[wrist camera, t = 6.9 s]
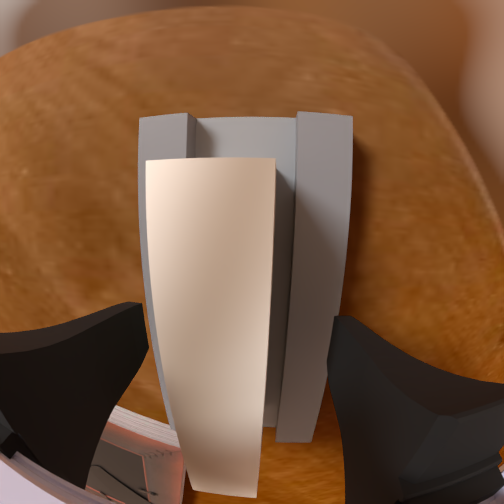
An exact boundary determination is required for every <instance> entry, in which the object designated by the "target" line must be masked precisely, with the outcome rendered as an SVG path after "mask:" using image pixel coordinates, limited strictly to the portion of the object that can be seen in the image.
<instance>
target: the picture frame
mask: <svg viewBox="0 0 504 504" xmlns="http://www.w3.org/2000/svg"><path fill="white" fill-rule="evenodd" d="M185 474H186V466H185V463H184V459H183V455H182V452H181V448H180V445H179V441H178V437H177V433H176V431H175V430H171V428H170V425H167V424H164V423H161V422H158V421H155V420H152V419H150V418H147V417H144V416H141V415H139V414H136V413H134V412H131V411H129V410H126V409H124V408H121V407H119V406H115V407H114V409H113V411H112V413H111V415H110V417H109V419H108V421H107V423H106V426H105V428H104V430H103V433H102V435H101V438H100V440H99V443H98V445H97V448H96V451H95V454H94V457H93V460H92V463H91V467H90V470H89V474H88V478H87V483H86V487H85V491H87V492H90V493H92V494H94V495H96V496H99V497H101V498H103V499H106V500H108V501H111V502H113V503H116V504H182V498H183V490H184V482H185Z"/></svg>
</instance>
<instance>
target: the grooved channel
mask: <svg viewBox="0 0 504 504" xmlns="http://www.w3.org/2000/svg"><path fill="white" fill-rule="evenodd" d="M352 156H353V116H345V115H336V114H326V113H314V112H299V111H298V113H297V116H296V118H281V117H221V118H200V119H196V118H195V117H193V116H192V115H190V114H189V113H179V114H169V115H160V116H152V117H144V118H140V121H139V145H138V203H139V227H140V244H141V257H142V268H143V279H144V288H145V296H146V304H147V312H148V319H149V326H150V332H151V339H152V345H153V350H154V356H155V361H156V367H157V372H158V377H159V381H160V386H161V391H162V395H163V400H164V404H165V408H166V412H167V416H168V420H169V424H170V428H171V430H175V431H176V429H175V425H174V421H173V416H172V412H171V408H170V403H169V398H168V394H167V389H166V384H165V379H164V373H163V368H162V362H161V356H160V350H159V344H158V337H157V330H156V323H155V316H154V308H153V299H152V290H151V280H150V269H149V256H148V241H147V221H146V161H148V160H163V159H183V158H222V157H244V158H276V201H275V229H274V254H273V276H272V296H271V315H270V332H269V349H268V364H267V379H266V394H265V407H264V419H263V427H276V440H275V442H311V441H312V437H313V433H314V430H315V426H316V422H317V418H318V414H319V410H320V406H321V402H322V398H323V393H324V389H325V384H326V380H327V375H328V372H327V362H326V361H327V356H328V350H329V345H330V339H331V333H332V327H333V321H334V316H338V315H339V308H340V302H341V295H342V287H343V279H344V271H345V262H346V253H347V243H348V232H349V219H350V205H351V186H352Z"/></svg>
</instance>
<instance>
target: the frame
mask: <svg viewBox="0 0 504 504" xmlns="http://www.w3.org/2000/svg"><path fill="white" fill-rule="evenodd" d="M275 201H276V158H244V157H222V158H183V159H163V160H148V161H146V221H147V241H148V256H149V269H150V280H151V290H152V299H153V308H154V316H155V323H156V330H157V337H158V344H159V350H160V356H161V362H162V368H163V373H164V379H165V384H166V389H167V394H168V398H169V403H170V408H171V412H172V416H173V421H174V425H175V429H176V433H177V437H178V441H179V445H180V448H181V452H182V455H183V459H184V463H185V466H186V469H187V473H188V476H189V479H190V482H191V485H192V488H193V490H197V491H202V492H209V493H215V494H222V495H231V496H240V497H252V498H256V495H257V485H258V475H259V465H260V454H261V443H262V431H263V419H264V407H265V394H266V379H267V364H268V349H269V332H270V315H271V296H272V276H273V254H274V229H275Z"/></svg>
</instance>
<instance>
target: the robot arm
mask: <svg viewBox="0 0 504 504" xmlns="http://www.w3.org/2000/svg"><path fill="white" fill-rule="evenodd" d="M148 349H149V345H148V339H147V333H146V327H145V321H144V314H143V307H142V303H135V302H125V303H121V304H118V305H114V306H111V307H109V308H106V309H103V310H100V311H98V312H95V313H92V314H90V315H87V316H84V317H81V318H78V319H75V320H72V321H69V322H66V323H62V324H59V325H55V326H51V327H47V328H42V329H37V330H29V331H22V332H12V333H0V504H116V503H113V502H111V501H108V500H106V499H103V498H101V497H99V496H96V495H94V494H92V493H90V492H87V491H85V487H86V483H87V478H88V474H89V470H90V467H91V463H92V460H93V457H94V454H95V451H96V448H97V445H98V443H99V440H100V438H101V435H102V433H103V430H104V428H105V426H106V423H107V421H108V419H109V417H110V415H111V413H112V411H113V409H114V407H115V406H116V404H117V402H118V401H119V399H120V398H121V396H122V395H123V393H124V392H125V390H126V389H127V387H128V386H129V384H130V383H131V381H132V379H133V378H134V376H135V375H136V373H137V372H138V370H139V368H140V367H141V365H142V362H143V360H144V358H145V356H146V353H147V351H148ZM326 362H327V372H328V381H329V386H330V391H331V395H332V399H333V403H334V407H335V411H336V415H337V419H338V423H339V427H340V431H341V437H342V445H343V455H344V470H345V504H504V470H503V471H502V472H500V470H499V468H498V466H497V465H499V464H500V463H501V462H502V458H501V456H500V454H499V450H500V449H501V448H502V447H503V445H504V384H501V383H493V382H485V381H479V380H475V379H471V378H466V377H462V376H459V375H455V374H452V373H449V372H446V371H444V370H441V369H438V368H435V367H433V366H431V365H428V364H426V363H424V362H422V361H420V360H418V359H416V358H414V357H412V356H410V355H408V354H406V353H405V352H403V351H401V350H400V349H398V348H396V347H395V346H393V345H392V344H390V343H389V342H387V341H386V340H384V339H383V338H381V337H380V336H379V335H377V334H376V333H374V332H373V331H372V330H370V329H369V328H368V327H366V326H365V325H363V324H362V323H361V322H359V321H358V320H356V319H355V318H353V317H352V316H334V321H333V327H332V333H331V339H330V345H329V350H328V356H327V361H326Z"/></svg>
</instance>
